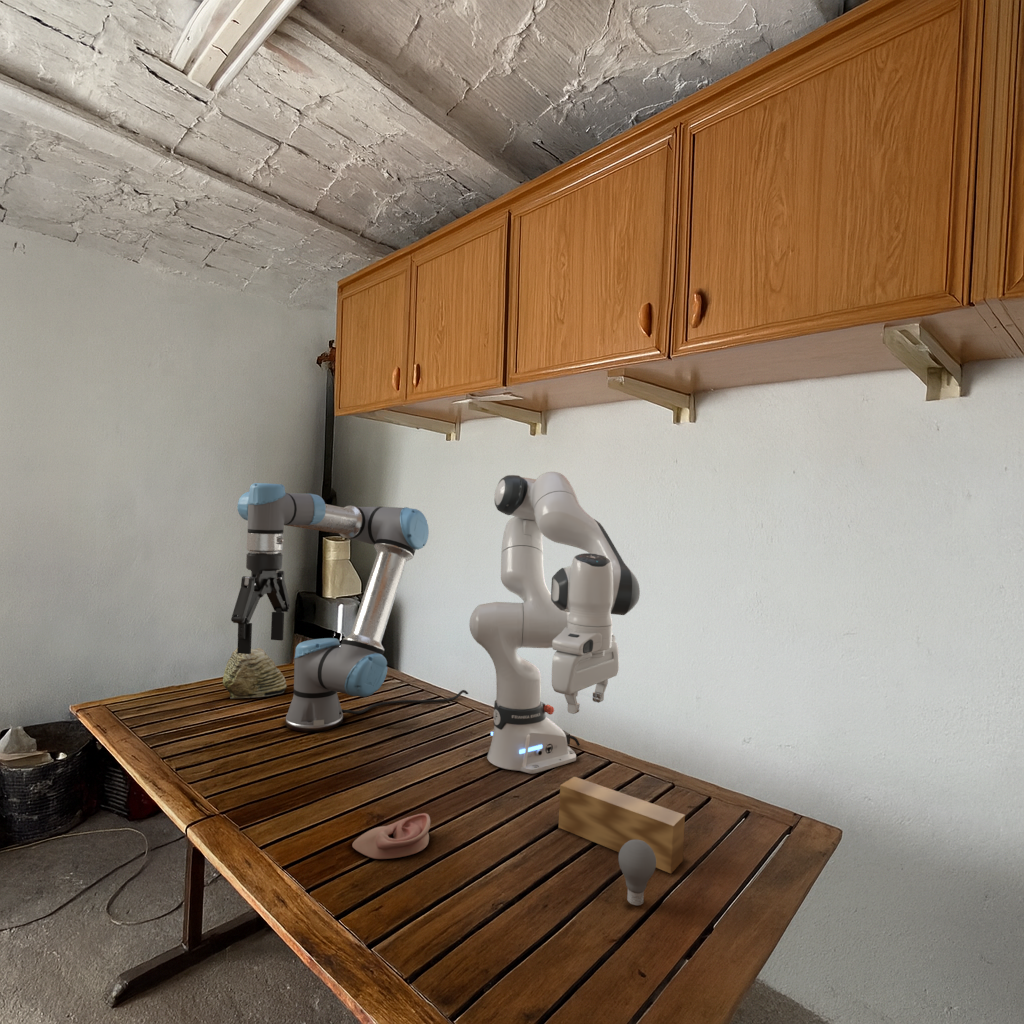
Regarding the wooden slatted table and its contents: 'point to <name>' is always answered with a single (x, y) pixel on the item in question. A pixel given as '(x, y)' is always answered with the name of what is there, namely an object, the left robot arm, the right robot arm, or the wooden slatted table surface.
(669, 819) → the bar
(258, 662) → the fossil
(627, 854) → the light bulb
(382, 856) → the anatomical model
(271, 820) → the wooden slatted table surface
